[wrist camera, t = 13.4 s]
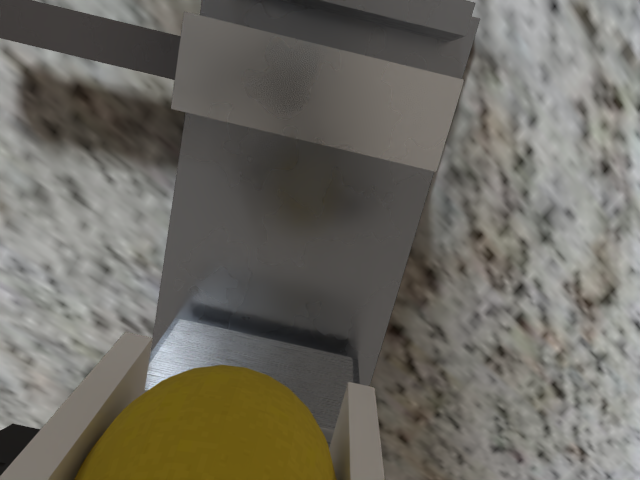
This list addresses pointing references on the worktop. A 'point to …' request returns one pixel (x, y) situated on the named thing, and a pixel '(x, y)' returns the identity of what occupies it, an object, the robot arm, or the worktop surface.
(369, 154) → the free jaw
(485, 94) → the worktop surface
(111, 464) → the lemon
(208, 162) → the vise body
